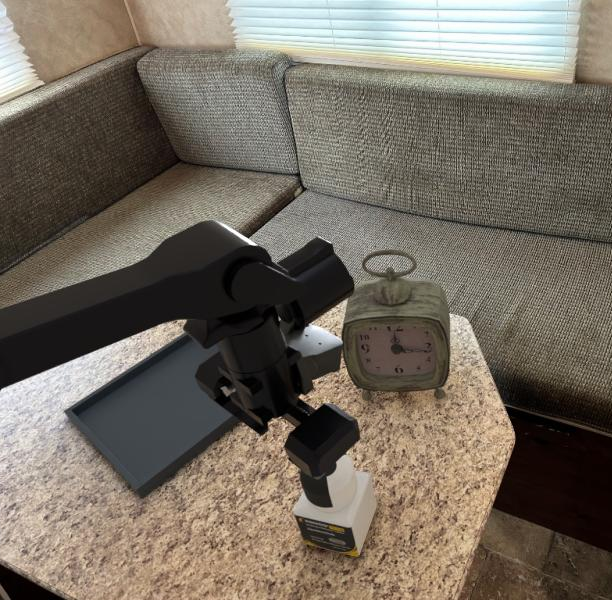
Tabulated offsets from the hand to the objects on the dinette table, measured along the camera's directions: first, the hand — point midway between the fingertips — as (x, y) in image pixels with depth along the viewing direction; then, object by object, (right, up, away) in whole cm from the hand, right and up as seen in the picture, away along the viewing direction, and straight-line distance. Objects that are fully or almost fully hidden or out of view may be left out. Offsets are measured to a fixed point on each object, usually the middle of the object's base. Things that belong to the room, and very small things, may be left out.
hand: (291, 453), depth 65 cm
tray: (-22, +1, +28) cm, 35 cm away
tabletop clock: (+12, +4, +27) cm, 29 cm away
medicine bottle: (+5, -11, +10) cm, 16 cm away
